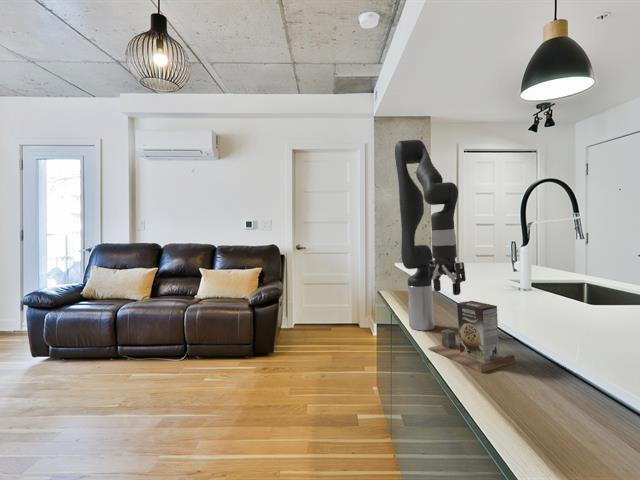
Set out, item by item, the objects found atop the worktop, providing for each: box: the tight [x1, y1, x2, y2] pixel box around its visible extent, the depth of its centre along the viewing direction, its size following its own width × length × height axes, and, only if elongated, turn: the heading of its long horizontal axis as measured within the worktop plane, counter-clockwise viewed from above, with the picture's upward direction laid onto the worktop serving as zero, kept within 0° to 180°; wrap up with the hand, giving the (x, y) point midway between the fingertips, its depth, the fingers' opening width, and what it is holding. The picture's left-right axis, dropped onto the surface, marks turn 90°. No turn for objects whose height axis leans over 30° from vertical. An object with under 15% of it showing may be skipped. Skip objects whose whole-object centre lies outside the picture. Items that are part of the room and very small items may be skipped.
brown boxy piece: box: [456, 300, 500, 363], centre depth 96 cm, size 9×6×16 cm
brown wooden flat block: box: [427, 329, 516, 373], centre depth 100 cm, size 21×13×6 cm, turn 22°
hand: (446, 292), depth 107 cm, fingers open, 8 cm apart
